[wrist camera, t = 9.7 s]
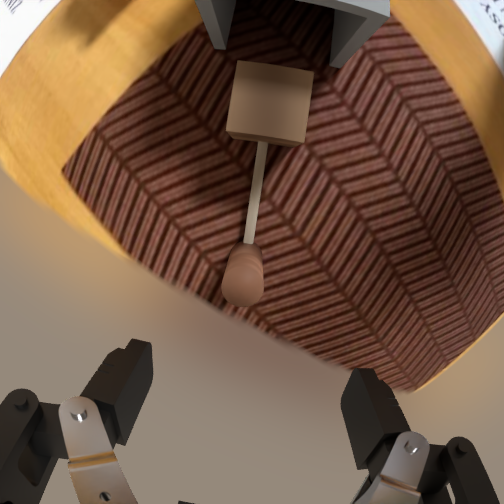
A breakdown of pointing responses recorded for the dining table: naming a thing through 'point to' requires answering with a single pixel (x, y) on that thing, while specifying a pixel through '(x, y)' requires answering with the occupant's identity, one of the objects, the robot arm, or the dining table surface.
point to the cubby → (345, 3)
